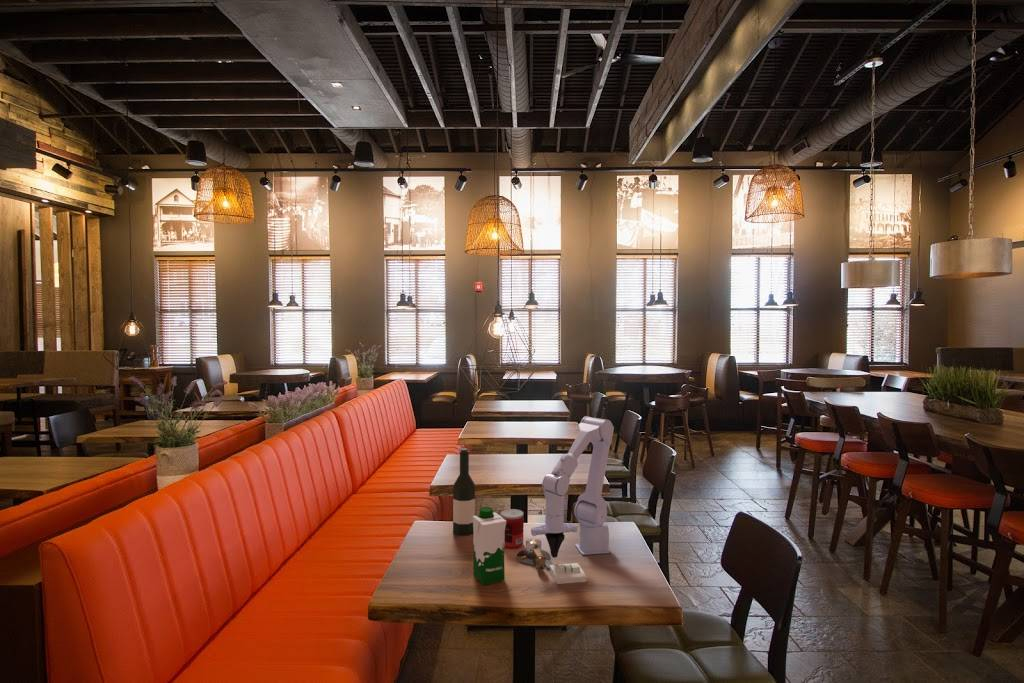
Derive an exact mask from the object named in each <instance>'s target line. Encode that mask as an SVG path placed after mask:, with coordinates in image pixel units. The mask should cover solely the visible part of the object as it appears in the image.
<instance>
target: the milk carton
mask: <svg viewBox="0 0 1024 683" xmlns="http://www.w3.org/2000/svg"><path fill="white" fill-rule="evenodd" d="M505 526H506V520H504V519H503V517H501V514H499V513H497V512H496V511H494V509H493V508H492V507H490V506H483V507H481V508H479V514H475V516H473V534H472V535H473V545H472V546H473V547H472V550H473V551H472V553H473V554H472V557H473V558H472V559H473V563H472V564H473V565H472V567H473V568H472V569H473V573H472V574H473V576H474V577H475V578H476V579H477V581H479V583H481V585H482V586H486V585H489V584H494V583H495V584H496V583H500V582H502V581H503V582H504V581H505V580H506V579H505V576H506V575H505V548H504V542H505Z"/></svg>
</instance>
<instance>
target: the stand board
mask: <svg viewBox="0 0 1024 683" xmlns="http://www.w3.org/2000/svg"><path fill="white" fill-rule="evenodd" d="M548 571H549V572H550V573H551V575H552V576H551V577H553V579H554V582H555V583H556V585H562V584H563V585H564V584H573V583H574V584H576V583H585V582H587V581H588V576H587V575H586V573H585V572H584V570H583V569H582V567H581V566H580V564H579V562H574V563H560V564H553V565H549V570H548ZM587 583H588V582H587Z"/></svg>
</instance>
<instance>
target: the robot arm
mask: <svg viewBox="0 0 1024 683" xmlns="http://www.w3.org/2000/svg"><path fill="white" fill-rule="evenodd" d="M614 429H615V426H614V425H613V423H612V421H611V420H610V419H604V418H598V417H591V416H587V415H585V416H584V417H583V418H581V420H580V423H579V424H578V433H577V435H576V436H575V439H574V441H573V443H572V445H571V447H570V448H569V451H568V452H567V453H566V454H562V455H561V457H560V458H559V460H558V461H557V463H556V465H554V468H553V470H552V471H551V472H550V473H547V474H546V475H544V477H543V479H542V483H541V489H542V490H543V492H544V494H543V496H544V497H545V520H544V521H545V523H544V524H543V525H539V526H534V527H530V531H531V532H530V534H531V536H532V537H536V536H541V535H545V538H546V540H547V543H548V546H549V550H550V556H551V558H552V559H553V558H558V555H559V554H558V553H559V551H560V548H561V545H562V543H563V542H564V540H565V534H566V533H572V532H573V533H578V532H579V533H578V536H579V538H578V543H575V544H574V545H575V547H576V548H577V550H578V551H579V552H580V554H581V555H582V556H585V555H600V554H601V555H602V554H609V553H610V546H609V545H610V544H609V543H610V532H609V526H608V524H607V522H606V521H607V518H608V517H607V516H608V511H607V510H608V509H607V507H608V503H607V502H606V500H605V498H603V496H602V494H603V486H604V481H605V474H606V470H607V464H608V460H609V459H608V458H609V454H610V453H609V452H610V446H611V445H612V441H613V435H614ZM590 443H591V444H592V447H593V449H592V453H591V458H590V465H589V470H588V476H587V481H586V486H585V492H584V493H582V494H580V495H579V496H578V498H577V502H576V504H575V506H574V511H573V512H574V517H575V518H576V519H577V522H578V523H579V527H578V525H577V524H576V523H565V494H566V493H567V492H568V490H569V487H570V482H571V477H572V475H573V474H574V473H575V470H576V469H577V467H578V465H579V464H578V459H579V458H580V457H581V455H582V453H583V452H584V451H585V449H586V448H587V447H588V446H589V444H590ZM578 528H579V531H578Z"/></svg>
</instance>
